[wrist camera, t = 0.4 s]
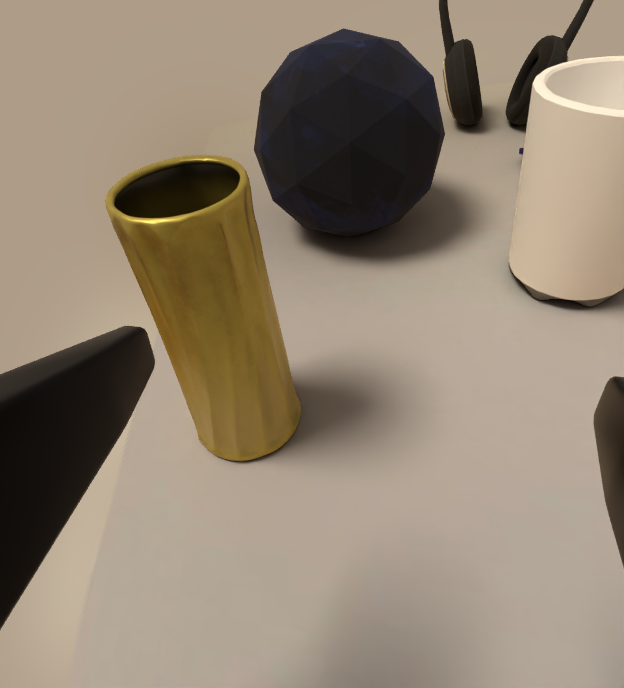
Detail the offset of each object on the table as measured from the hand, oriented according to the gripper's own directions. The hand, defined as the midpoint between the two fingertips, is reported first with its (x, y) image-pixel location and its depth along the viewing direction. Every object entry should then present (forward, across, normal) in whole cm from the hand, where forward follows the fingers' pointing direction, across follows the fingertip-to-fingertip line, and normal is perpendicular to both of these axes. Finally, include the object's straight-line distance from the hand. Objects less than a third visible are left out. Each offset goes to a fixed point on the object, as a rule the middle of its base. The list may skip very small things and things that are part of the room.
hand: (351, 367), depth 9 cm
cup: (+26, -11, +10) cm, 30 cm away
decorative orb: (+32, +6, +9) cm, 34 cm away
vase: (+11, +8, +13) cm, 19 cm away
